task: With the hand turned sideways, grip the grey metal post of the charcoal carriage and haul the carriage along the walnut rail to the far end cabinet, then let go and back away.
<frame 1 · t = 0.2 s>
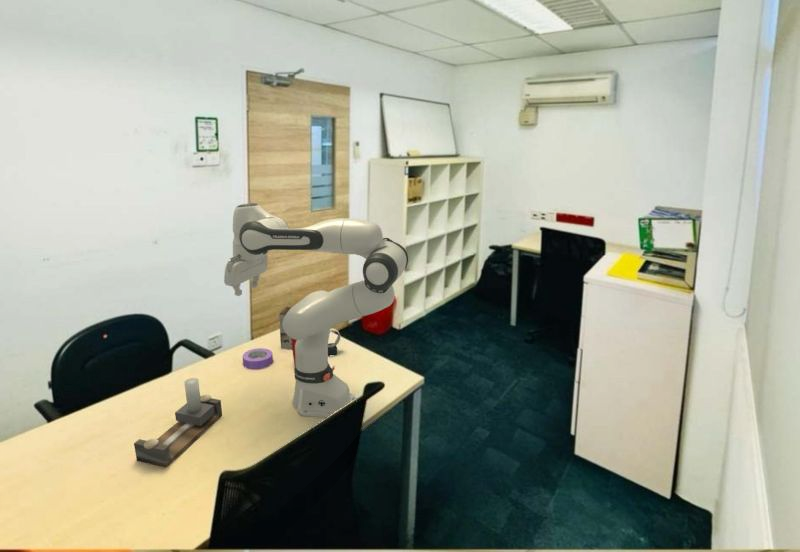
hand: (246, 290, 158), 39 cm above the table, tool pointing down, fingers open, 8 cm apart
carriage: (193, 399, 147), point 9 cm above the table, slide at -6.5 cm
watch: (331, 353, 200), on the table
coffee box: (290, 344, 206), on the table
coffee cup: (301, 365, 188), on the table
rail: (182, 436, 144), on the table
masking tape: (258, 363, 190), on the table
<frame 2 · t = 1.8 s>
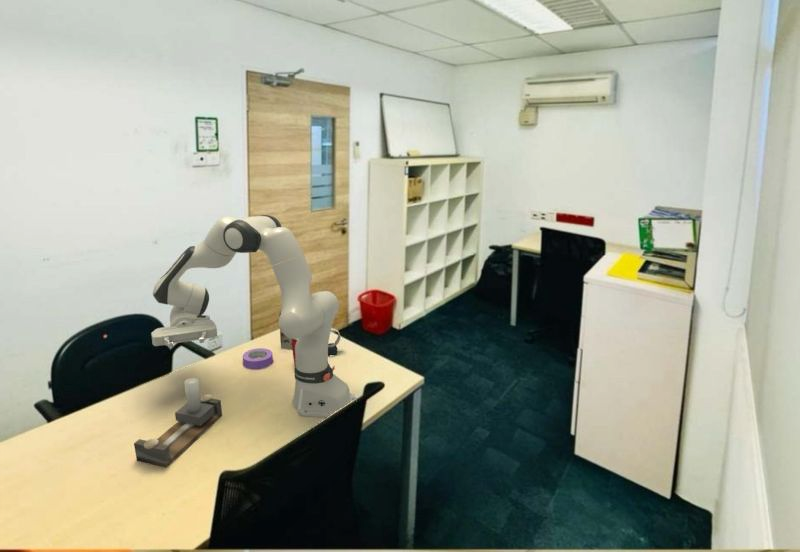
hand: (186, 343, 153), 23 cm above the table, tool horizontal, fingers open, 8 cm apart
nothing on the table moved.
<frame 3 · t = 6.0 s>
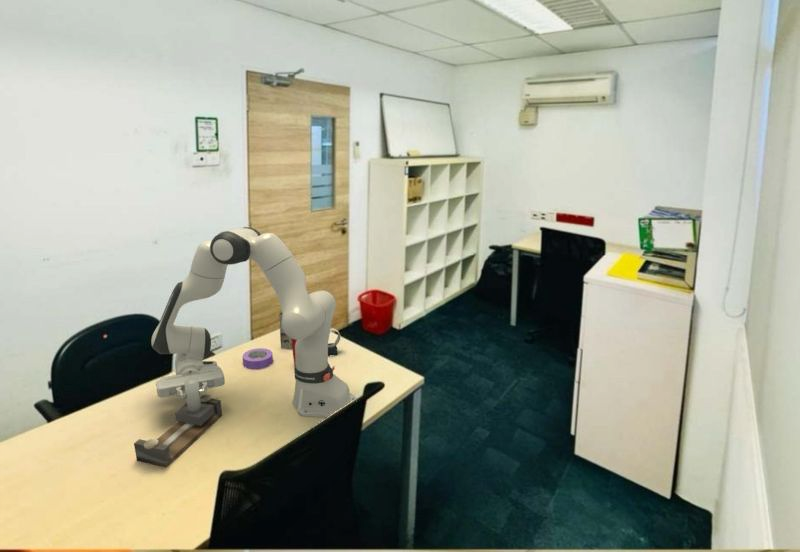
hand: (193, 394, 146), 12 cm above the table, tool horizontal, fingers closed on carriage, 4 cm apart
carriage: (193, 399, 147), point 9 cm above the table, slide at -6.5 cm, touching gripper
everything else where it was.
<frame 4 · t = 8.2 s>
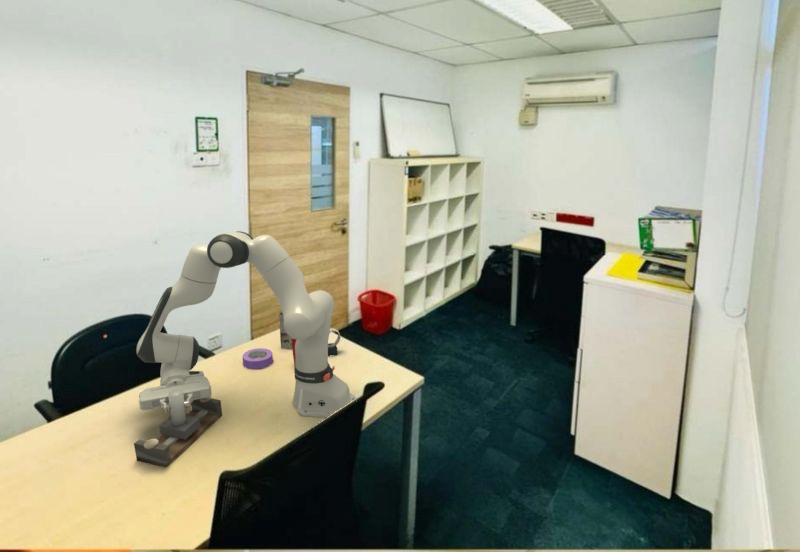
hand: (177, 407, 139), 12 cm above the table, tool horizontal, fingers closed on carriage, 4 cm apart
carriage: (178, 411, 140), point 9 cm above the table, slide at 0.6 cm, touching gripper
everything else where it was.
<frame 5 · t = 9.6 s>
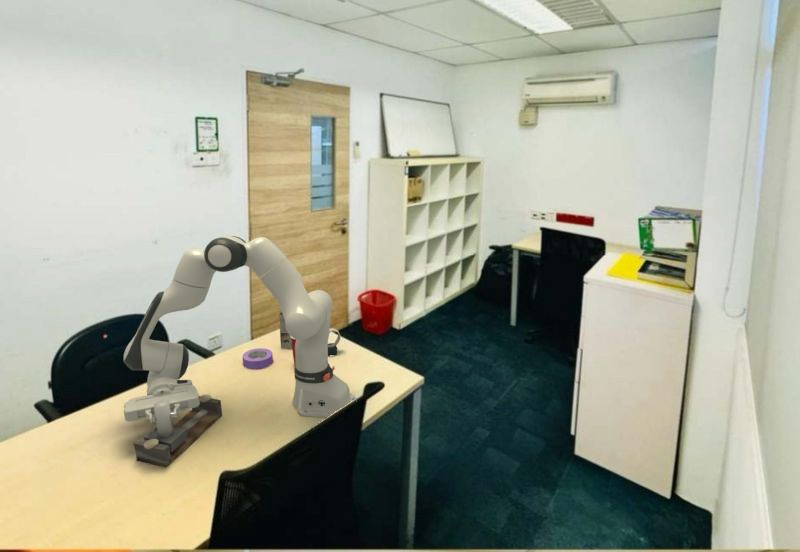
hand: (163, 418, 134), 12 cm above the table, tool horizontal, fingers closed on carriage, 4 cm apart
carriage: (164, 423, 135), point 9 cm above the table, slide at 6.4 cm, touching gripper
everything else where it was.
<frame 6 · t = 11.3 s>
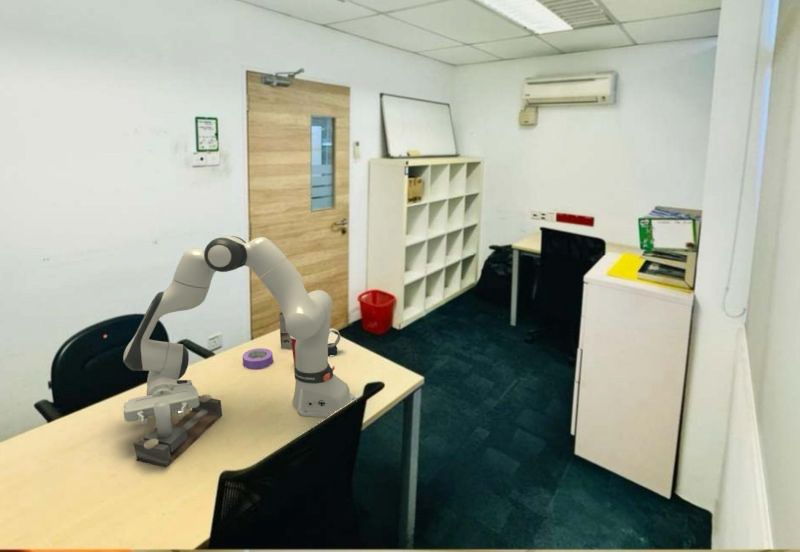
hand: (163, 418, 133), 12 cm above the table, tool horizontal, fingers open, 8 cm apart
carriage: (164, 423, 135), point 9 cm above the table, slide at 6.5 cm
everything else where it was.
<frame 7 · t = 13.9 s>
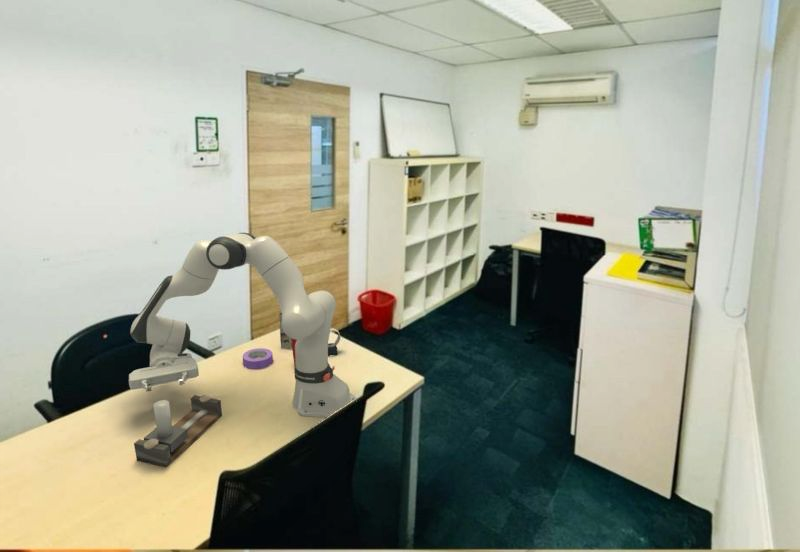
hand: (165, 386, 145), 14 cm above the table, tool horizontal, fingers open, 8 cm apart
nothing on the table moved.
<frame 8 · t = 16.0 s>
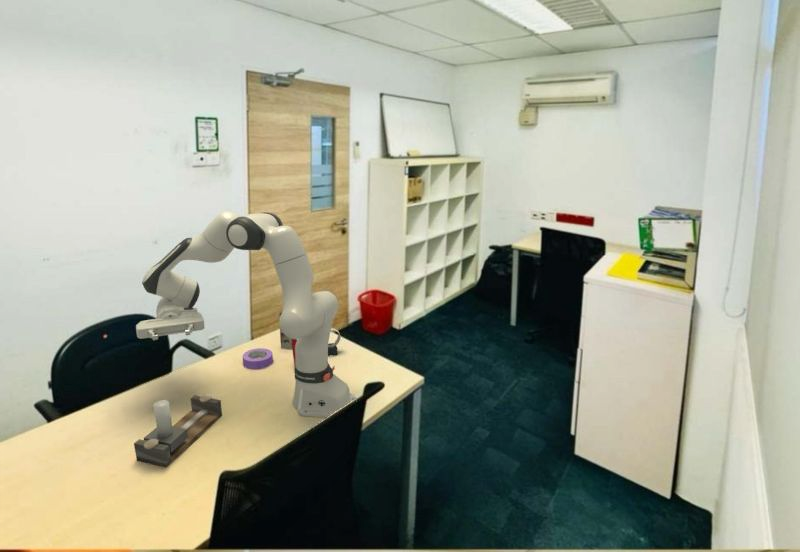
hand: (171, 335, 148), 28 cm above the table, tool horizontal, fingers open, 8 cm apart
nothing on the table moved.
at the end: carriage slide at 6.5 cm; the gripper is holding nothing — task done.
